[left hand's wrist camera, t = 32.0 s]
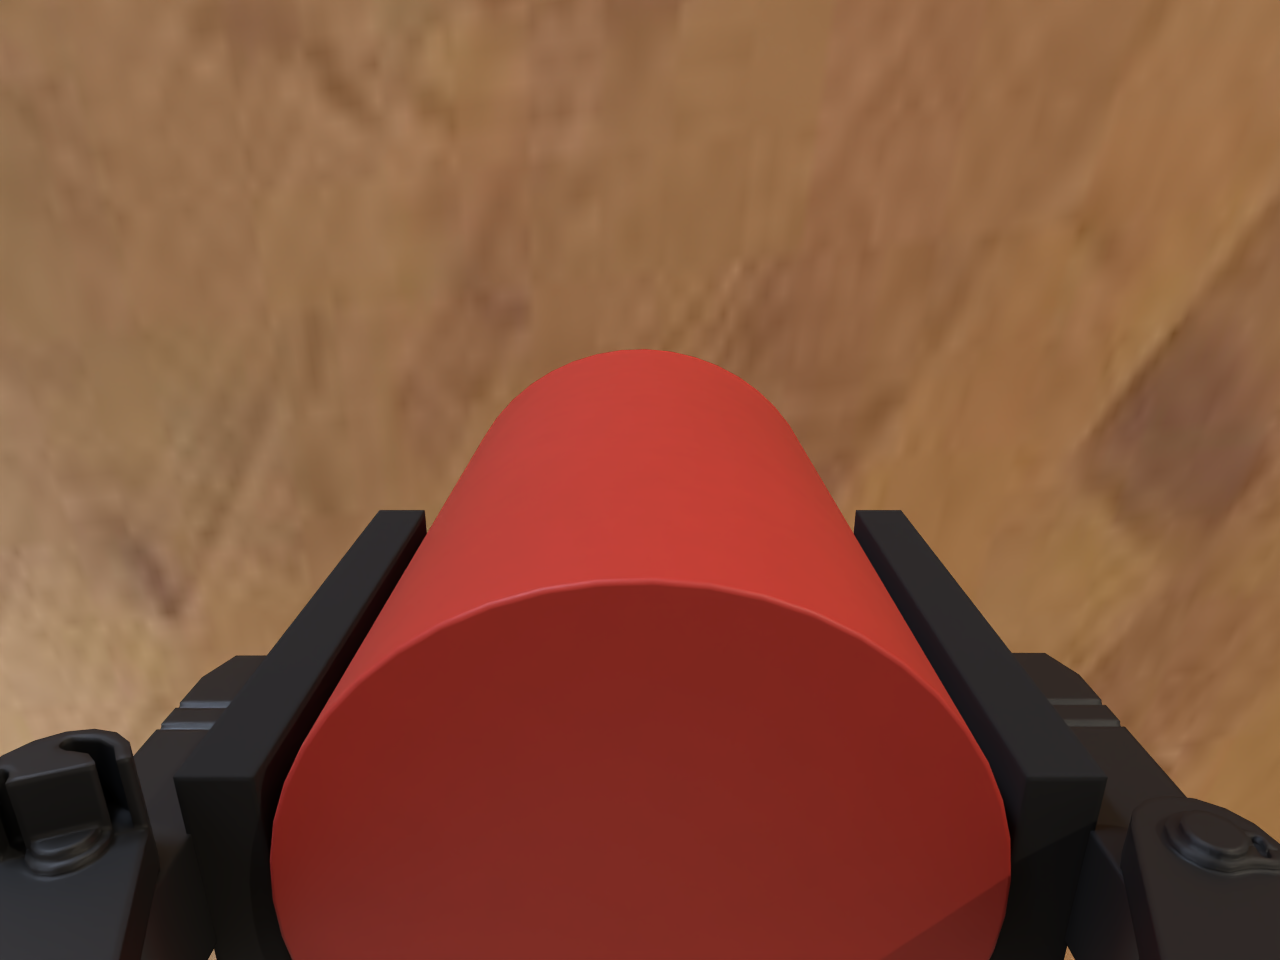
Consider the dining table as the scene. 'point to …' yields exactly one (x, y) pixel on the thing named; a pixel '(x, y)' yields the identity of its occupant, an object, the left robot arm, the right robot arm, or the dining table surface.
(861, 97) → the dining table surface
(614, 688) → the can
